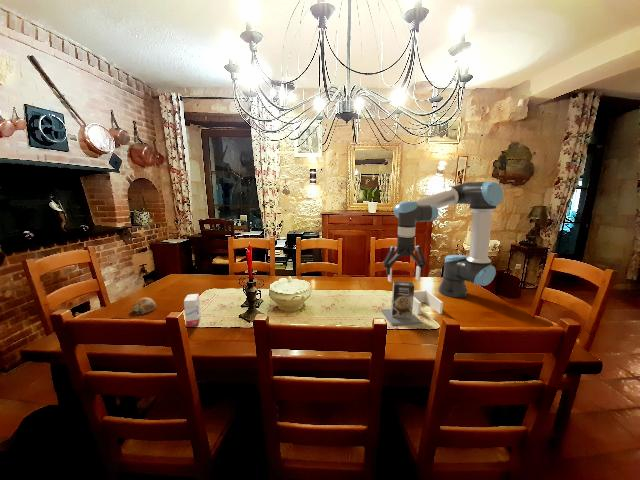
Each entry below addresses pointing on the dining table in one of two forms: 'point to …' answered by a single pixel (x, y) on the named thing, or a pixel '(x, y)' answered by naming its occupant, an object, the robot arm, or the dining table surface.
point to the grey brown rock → (143, 306)
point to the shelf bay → (428, 298)
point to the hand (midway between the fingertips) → (403, 280)
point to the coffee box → (402, 299)
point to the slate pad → (399, 320)
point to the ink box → (192, 309)
